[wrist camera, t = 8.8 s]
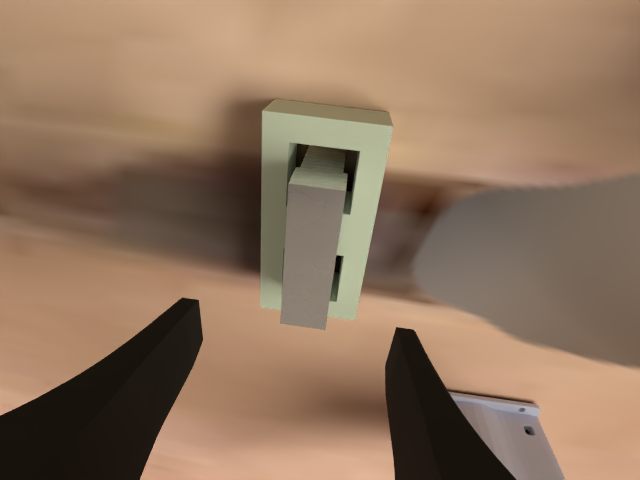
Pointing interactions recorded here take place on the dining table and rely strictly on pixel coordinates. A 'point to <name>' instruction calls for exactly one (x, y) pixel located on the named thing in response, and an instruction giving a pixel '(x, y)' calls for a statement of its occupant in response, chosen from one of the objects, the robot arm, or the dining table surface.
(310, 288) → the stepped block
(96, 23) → the dining table surface
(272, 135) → the slotted block
